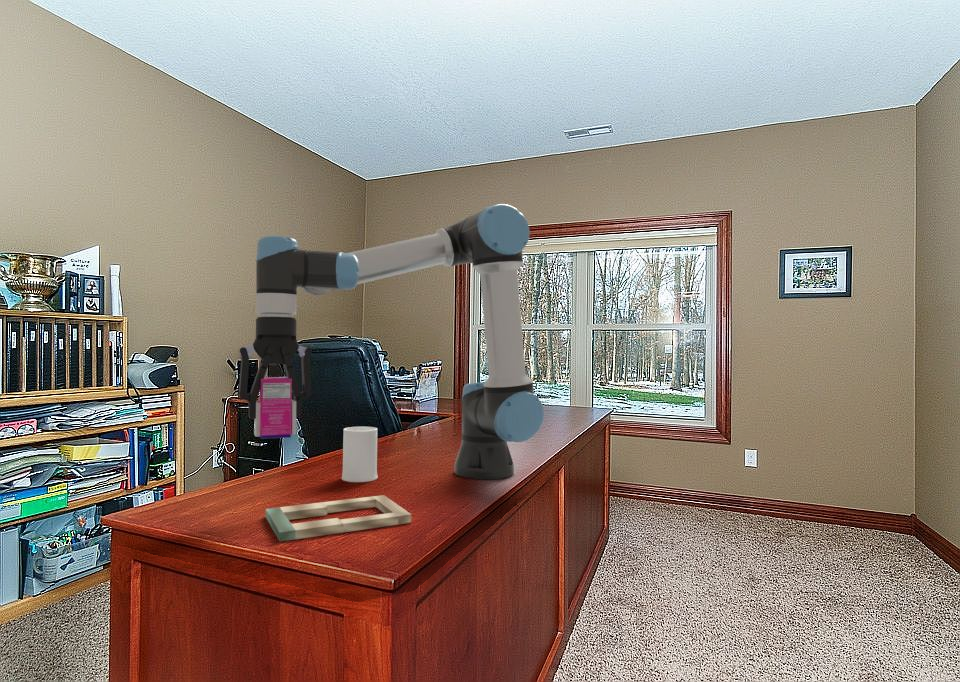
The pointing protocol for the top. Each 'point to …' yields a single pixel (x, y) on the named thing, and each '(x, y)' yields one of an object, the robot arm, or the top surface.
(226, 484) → the top surface
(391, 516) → the cream and green frame
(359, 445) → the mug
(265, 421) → the supplement box
